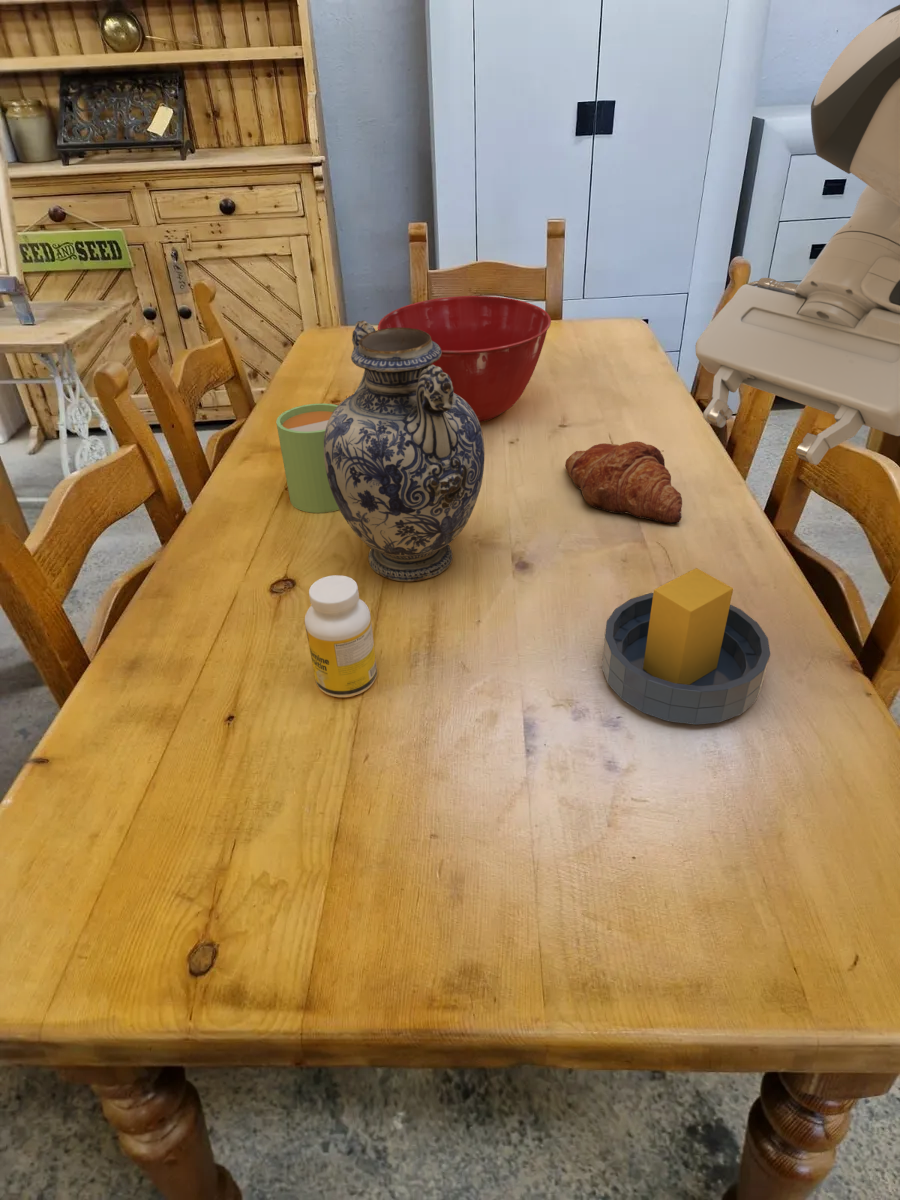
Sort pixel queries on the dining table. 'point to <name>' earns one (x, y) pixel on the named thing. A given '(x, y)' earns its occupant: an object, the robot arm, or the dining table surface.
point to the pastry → (626, 481)
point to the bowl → (682, 703)
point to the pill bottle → (340, 637)
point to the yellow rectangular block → (687, 627)
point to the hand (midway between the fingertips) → (756, 440)
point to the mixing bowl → (480, 345)
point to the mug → (306, 456)
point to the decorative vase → (404, 454)
